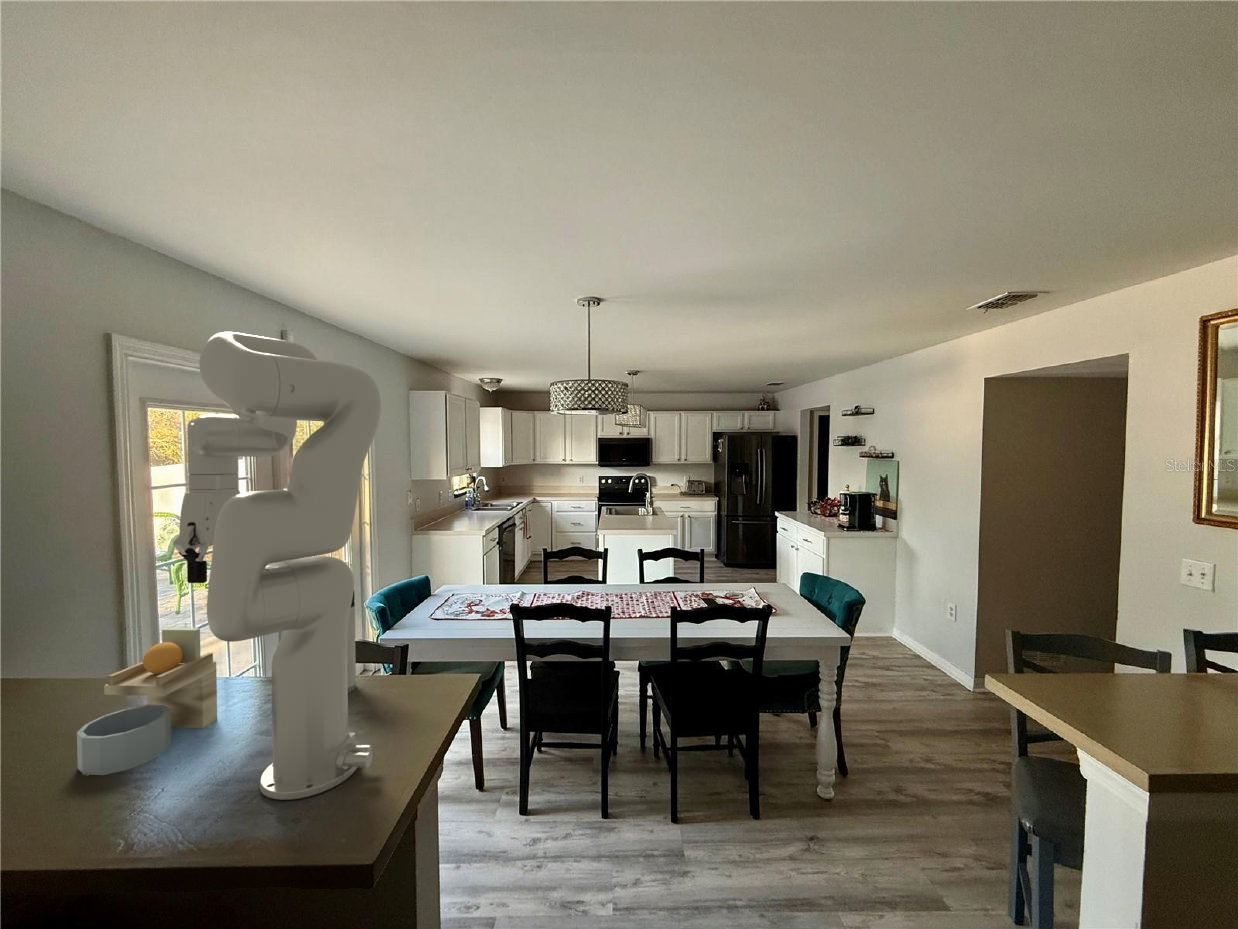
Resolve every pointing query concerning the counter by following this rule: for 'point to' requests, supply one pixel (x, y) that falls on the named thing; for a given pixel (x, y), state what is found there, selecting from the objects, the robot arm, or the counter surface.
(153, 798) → the counter surface
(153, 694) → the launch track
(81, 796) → the counter surface
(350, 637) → the travel mug
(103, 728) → the gray oval basket
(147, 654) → the ball
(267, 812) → the counter surface
